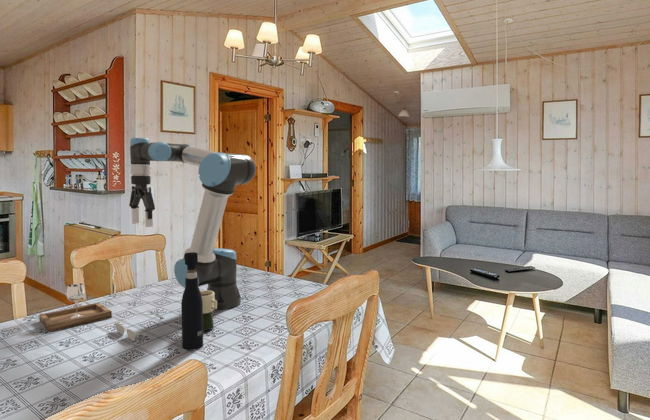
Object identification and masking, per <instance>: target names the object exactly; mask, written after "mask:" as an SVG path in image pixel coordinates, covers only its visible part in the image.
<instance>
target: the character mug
mask: <svg viewBox="0 0 650 420" xmlns="http://www.w3.org/2000/svg"><path fill="white" fill-rule="evenodd" d="M200 292H201V296H202V301H203V332H204V331H208V330H211V329H213V328H214V327H215V326H214V317H213V313H212V312H213V311H214V310H218V309H217V301H216V300H215V294H214V292H213V291H207V290H200Z"/></svg>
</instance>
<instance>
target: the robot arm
mask: <svg viewBox="0 0 650 420" xmlns="http://www.w3.org/2000/svg"><path fill="white" fill-rule="evenodd" d="M129 143H130V144H129V156H130V174H131V176H130V182H131V192H130V199H129V205H128V206H129V207H130V208H131V224H139V223H140V216H139V215H140V209H139V208H140V206H139V205H140V202H141V200H142V202H143V205H144V208H145V209H144V214H145V215H144V217H145V219H144V220H145V221H144V222H145V223H144V225H145V228H151V227H152V228H153V225H154V223H153V222H154V221H153V211H155V210H156V206H155V203H154V198H153V194H152V187H151V186H148V185H151V181H152V180H151V179H152V178H151V176H150V174H151V170H152V167H151V162H179V163H183V164H189V165H191V166H196V167H198V171H197V172H198V173H197V174H198V175H199V176H198V177H199V180H200V182H201V186H202V188H203V190H204V193H203V197H202V200H201V204H200V208H199V213H198V216H197V220H196V224H195V228H194V232H193V237H192V239H191V243H190V247H188V248H186V249H185V250H184V254H183V257H182V258H180V259H178V260H177V261H176V262H174V267H173V272H174V277H175V279H176V281H177V283H178V284H179V285H180V287H182V288H184V289H185V287H186V286H185V278H186V272H188V271H187V265H185V253H190V252H195V253H198V264H196V270H195V271H196V272H197V277H198V287H202V286H205V285H207V287H206V291H213V292H214V294H215V300H216V301H217V309H216V310H224V309H225V310H226V309H231V308H234V307H237V306H239V305H240V304H241V303H242V296H241V294H240V292H239V291H240V290H239V288H238V285H237V268H238V267H237V261H238V259H237V252H236V251H235V250H234V249H230V248H221V247H220V248H219V247H218V248H216V247H215V246H216V242H217V239H218V236H219V232H220V228H221V226H222V225H221V224H222V220H223V217H224V214H225V210H226V206H227V204H228V203H227V202H228V199H229V197H230V196H232V195H233V194H235V190H236V186H242V185H246V184H249V183H250V182H251V181H252V180H253V179H254V178H255V175H256V173H257V166H256V163H255V160H253V158H252V157H250V155H247V154H243V153H230V152H229V153H228V152H222V151H220V152H218V151H213V150H209V149H203V148H200V147H196V146H193V145H191V144H188V143H183V144H182V143H169V142H168V143H167V142H164V141H163V142H162V141H154V142H150V139H149V138H147V137H132V138H130V141H129Z"/></svg>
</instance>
